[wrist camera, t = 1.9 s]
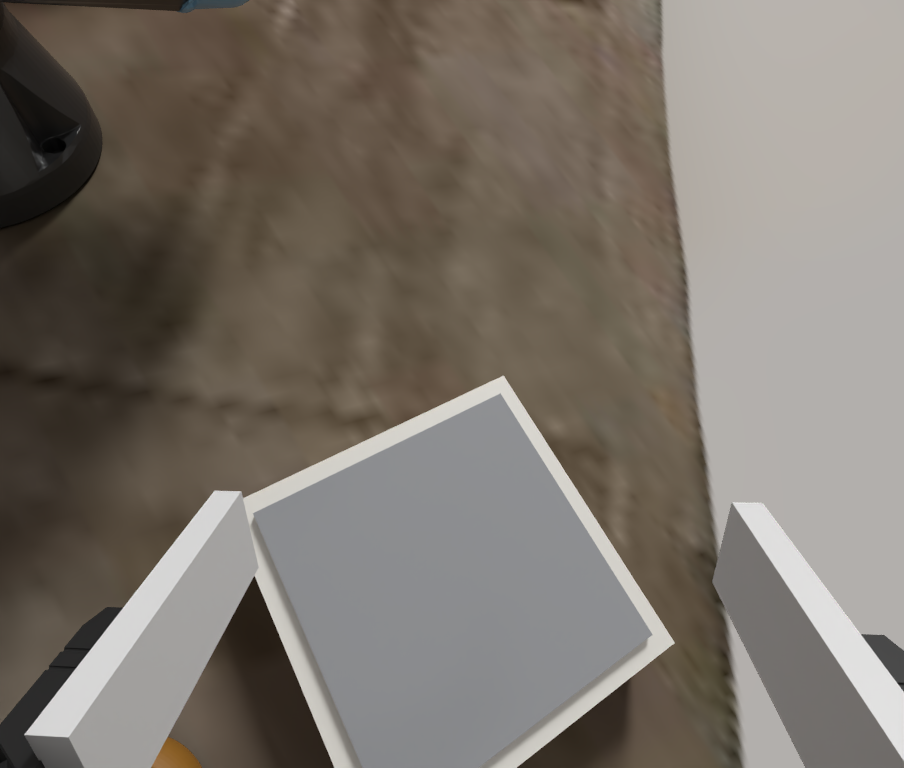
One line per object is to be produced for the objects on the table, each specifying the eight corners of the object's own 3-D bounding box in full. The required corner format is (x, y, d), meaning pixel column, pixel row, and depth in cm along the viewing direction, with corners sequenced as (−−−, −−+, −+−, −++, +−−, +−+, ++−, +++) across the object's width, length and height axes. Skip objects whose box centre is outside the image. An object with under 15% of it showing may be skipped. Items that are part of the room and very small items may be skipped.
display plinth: (243, 523, 29) (223, 504, 25) (486, 405, 35) (505, 371, 30) (375, 835, 24) (379, 881, 20) (631, 641, 30) (680, 643, 25)
